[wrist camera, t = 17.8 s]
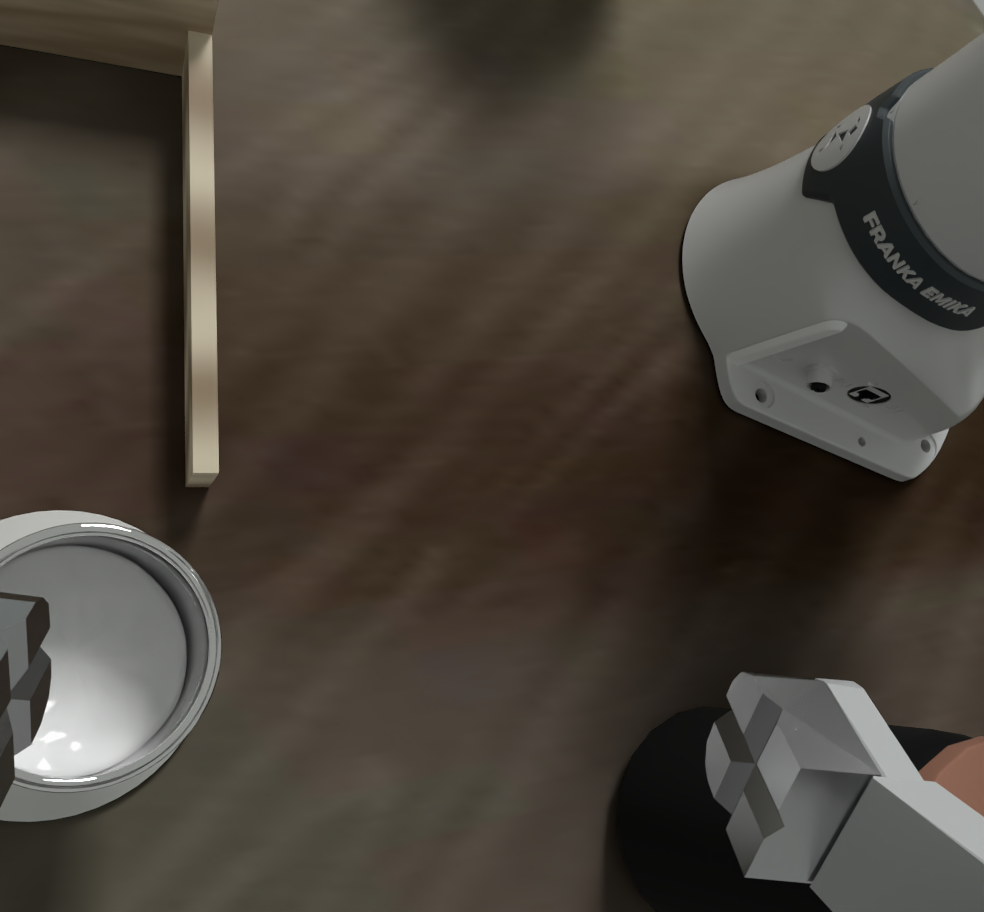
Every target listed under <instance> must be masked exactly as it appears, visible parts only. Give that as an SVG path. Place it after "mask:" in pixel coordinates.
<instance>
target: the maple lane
mask: <svg viewBox="0 0 984 912" xmlns="http://www.w3.org/2000/svg"><path fill="white" fill-rule="evenodd" d="M217 4H218V0H0V45H6V46H12V47H17V48H23V49H29V50H34V51H40V52H46V53H52V54H57V55H63V56H69V57H74V58H80V59H86V60H92V61H97V62H103V63H109V64H114V65H120V66H126V67H131V68H137V69H143V70H149V71H154V72H160V73H166V74H171V75H177V76H182V150H183V262H184V373H185V485H186V487H210V485H211V484H212V482H213V481H214V479H215V478H216V476H217V475H218V474H219V446H218V384H217V322H216V259H215V197H214V135H213V73H212V32H213V26H214V21H215V15H216V10H217Z"/></svg>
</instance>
